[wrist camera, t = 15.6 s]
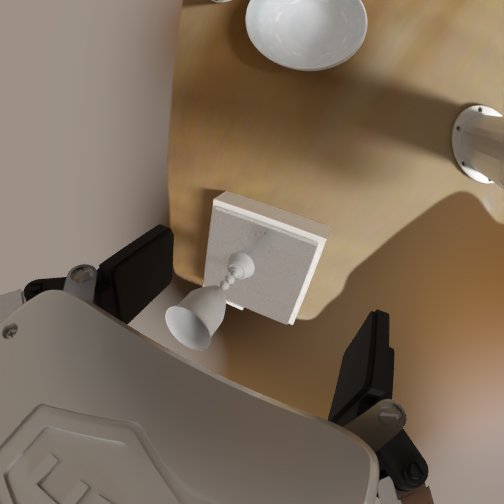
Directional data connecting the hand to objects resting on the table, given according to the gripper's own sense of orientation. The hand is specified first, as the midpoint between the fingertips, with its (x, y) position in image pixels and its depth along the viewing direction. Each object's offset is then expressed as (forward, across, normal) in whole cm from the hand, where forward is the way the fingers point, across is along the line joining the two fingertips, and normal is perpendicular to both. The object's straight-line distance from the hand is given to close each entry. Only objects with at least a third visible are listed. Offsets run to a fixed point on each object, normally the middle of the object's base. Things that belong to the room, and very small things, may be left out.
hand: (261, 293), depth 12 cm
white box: (+36, +8, +23) cm, 43 cm away
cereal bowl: (+37, +9, -20) cm, 43 cm away
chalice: (+30, +10, +22) cm, 38 cm away
